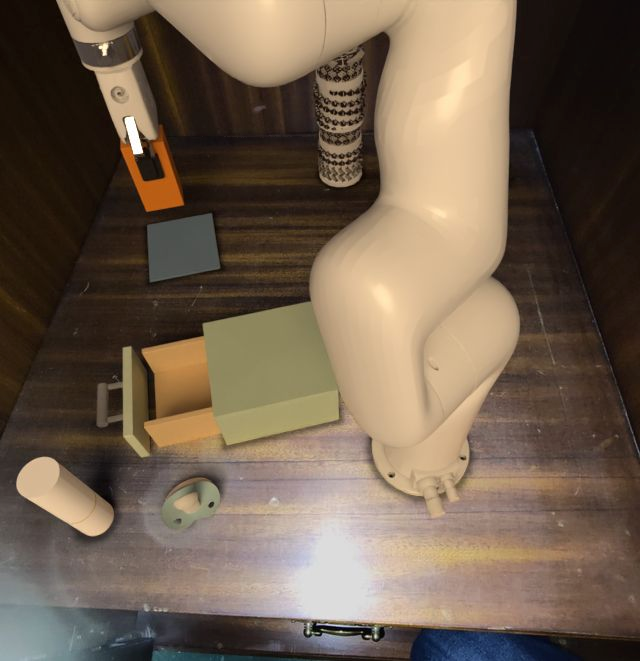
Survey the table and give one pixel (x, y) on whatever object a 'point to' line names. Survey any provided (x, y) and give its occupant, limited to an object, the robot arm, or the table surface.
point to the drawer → (163, 396)
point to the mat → (182, 247)
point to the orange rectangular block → (159, 190)
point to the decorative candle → (340, 117)
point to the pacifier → (190, 503)
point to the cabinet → (269, 373)
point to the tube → (64, 496)
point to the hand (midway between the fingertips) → (153, 167)
